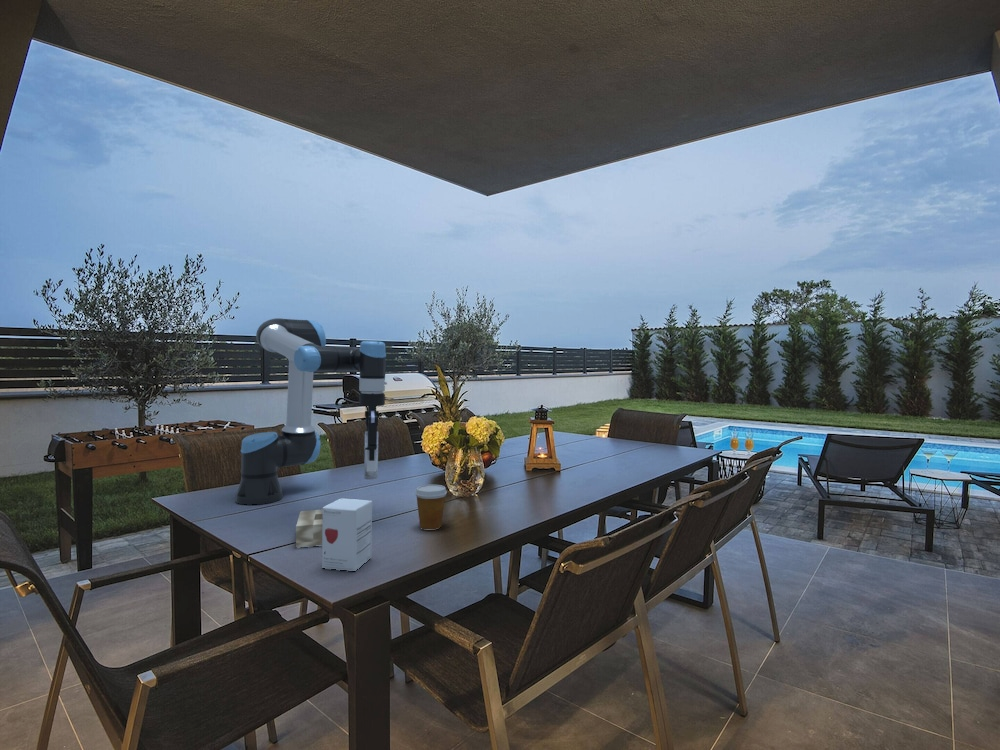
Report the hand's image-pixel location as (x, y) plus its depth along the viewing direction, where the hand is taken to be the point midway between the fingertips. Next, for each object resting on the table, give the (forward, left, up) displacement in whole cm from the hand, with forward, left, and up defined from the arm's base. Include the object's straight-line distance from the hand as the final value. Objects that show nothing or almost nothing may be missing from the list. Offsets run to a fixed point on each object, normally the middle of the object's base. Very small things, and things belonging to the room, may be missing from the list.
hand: (370, 469), depth 154 cm
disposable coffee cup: (+17, -7, -17) cm, 25 cm away
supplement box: (-7, -29, -17) cm, 35 cm away
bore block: (-13, -8, -17) cm, 23 cm away
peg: (0, 0, -3) cm, 3 cm away
